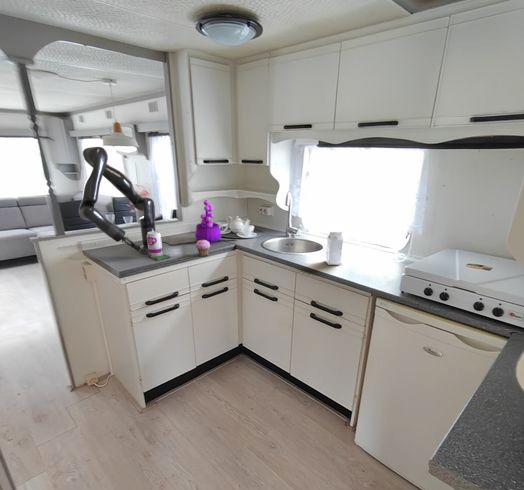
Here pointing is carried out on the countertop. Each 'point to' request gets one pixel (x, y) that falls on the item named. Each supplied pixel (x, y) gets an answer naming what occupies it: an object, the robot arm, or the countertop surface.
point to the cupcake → (203, 247)
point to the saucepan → (144, 249)
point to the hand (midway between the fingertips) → (139, 249)
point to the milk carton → (334, 248)
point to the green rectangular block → (161, 257)
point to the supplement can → (154, 244)
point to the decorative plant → (207, 226)
